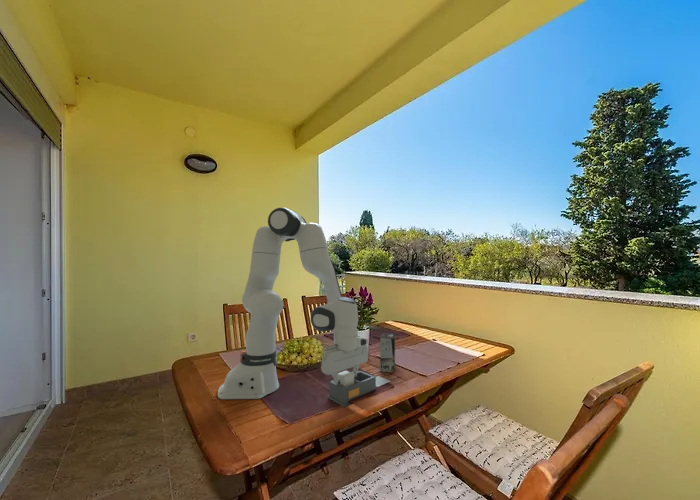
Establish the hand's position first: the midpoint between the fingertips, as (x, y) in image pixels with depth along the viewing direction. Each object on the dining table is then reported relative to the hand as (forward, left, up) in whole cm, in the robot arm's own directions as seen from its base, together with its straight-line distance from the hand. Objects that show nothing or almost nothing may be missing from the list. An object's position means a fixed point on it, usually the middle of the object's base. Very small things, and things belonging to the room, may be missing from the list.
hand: (345, 380), depth 109 cm
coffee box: (+24, +21, -7) cm, 33 cm away
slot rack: (+7, +4, -7) cm, 11 cm away
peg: (0, 0, -6) cm, 6 cm away
